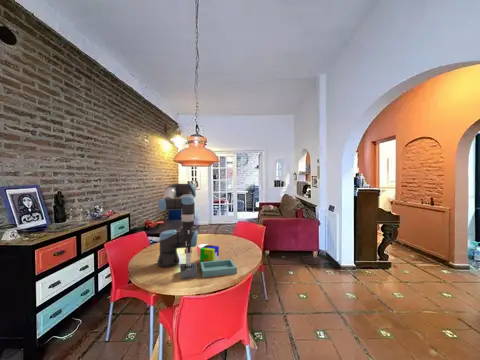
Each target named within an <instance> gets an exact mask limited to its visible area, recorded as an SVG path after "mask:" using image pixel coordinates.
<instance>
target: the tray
mask: <svg viewBox="0 0 480 360" xmlns="http://www.w3.org/2000/svg"><path fill="white" fill-rule="evenodd" d="M199 263H200V267H199V268H200V272H201V275H202V276H201V277H202V278H209V277H211V276H212V277H219V275H220V276H229V275H236V273H237V274H238V267H237V265H236V264H235V263H234V261H233V260H232V258H230V259H229V258H228V259H221V260H220V259H219V260H218V261H208V262H199Z"/></svg>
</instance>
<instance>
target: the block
mask: <svg viewBox="0 0 480 360" xmlns="http://www.w3.org/2000/svg"><path fill="white" fill-rule="evenodd" d="M179 264H180V265H179V266H180V267H179V268H180V270H179V273H180V275H179V276H180V280H189V279H195V278H198V266H197V262H191V268H186V263H179Z"/></svg>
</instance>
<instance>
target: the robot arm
mask: <svg viewBox="0 0 480 360" xmlns="http://www.w3.org/2000/svg"><path fill="white" fill-rule="evenodd" d="M195 187H196V186H195V184H194V183H172V184H170V185H168V186H166V187H165V188H164V190H163V197H162V198H160V199H158V201H157V202H158V207H157V208H158V210H159V211H175V210H176V211H179V210H180V211H181V215H180V217H181V227H180V229H179V231H177V229H167V230H164V231H162V232H160V234H159V253H158V254H159V255H158V258H157V261H156V262H157V264H156V266H157V267H159V268H172V267H175V266H177V265H179V264H180V258H179V255H178V249H187V258H191V259H192V253H191V249H192V248H195V247H196V246H197V244H198V234H199V233H198V230H197V229H196V227H195V221H194V220H195V200H194V199H195V198H196V197H197V192H196V188H195Z"/></svg>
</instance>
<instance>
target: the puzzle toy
mask: <svg viewBox="0 0 480 360" xmlns="http://www.w3.org/2000/svg"><path fill="white" fill-rule="evenodd" d="M219 255H220V248H219V245H218V246H217V245H210V244H205V245H204V246H203V247H201V248H200V249H199V257H200V258H199V260H200V262H208V261H218V260H220V256H219ZM200 262H199V263H200Z"/></svg>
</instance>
